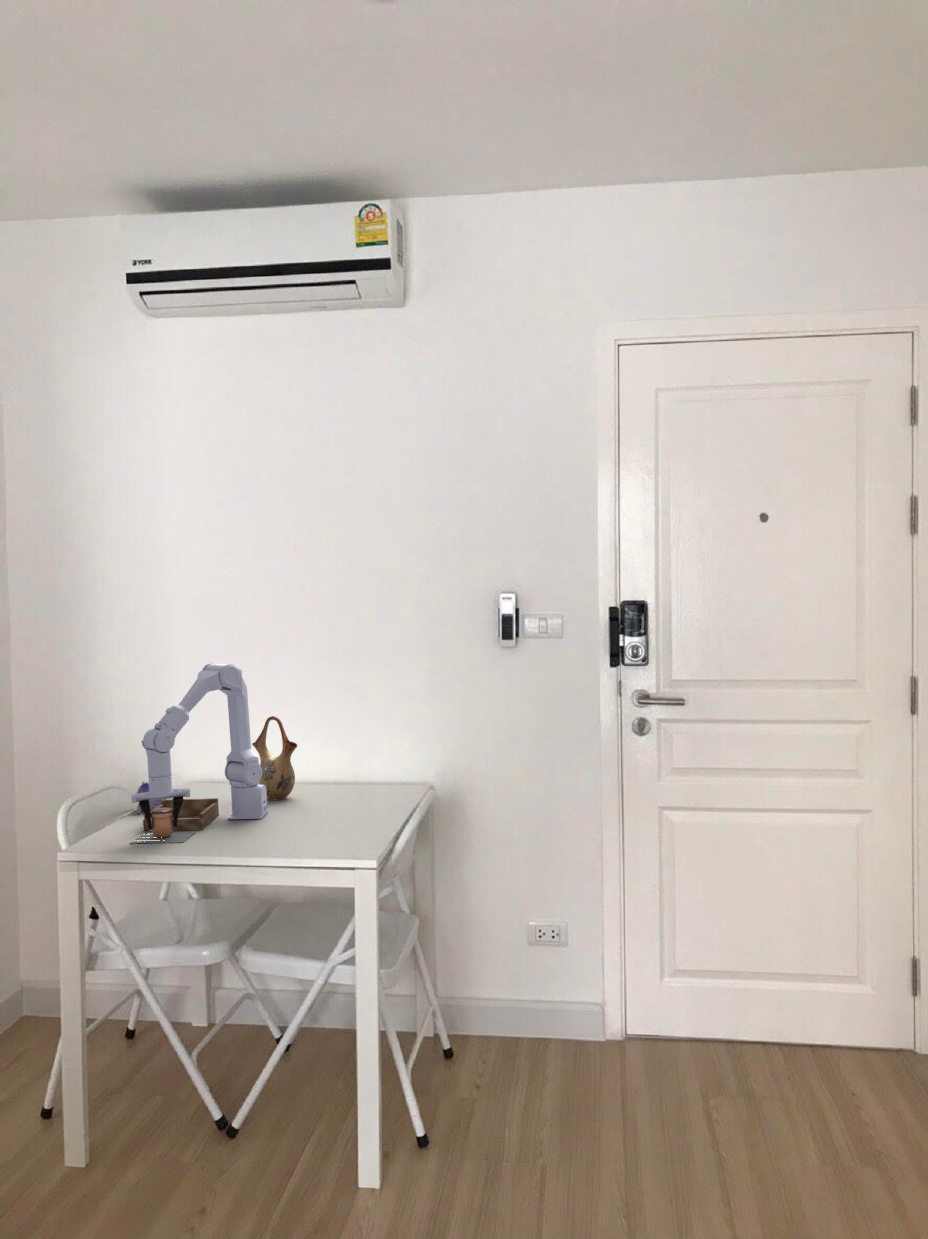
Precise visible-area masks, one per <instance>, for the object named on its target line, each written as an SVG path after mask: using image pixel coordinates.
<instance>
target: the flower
mask: <svg viewBox="0 0 928 1239" xmlns="http://www.w3.org/2000/svg"><path fill="white" fill-rule="evenodd" d="M144 792H149V781H146V782H145V781H142V783H141V785H140V786H139V788H138V789H137V792H136V794H138V793H144ZM161 800H167V799H161ZM161 800H152V801H149V804H150V811H152V810H153V809H154V808H156V807H157V806H159V805H160V804H161ZM136 810H137V813H138V816H140V815H139V814H141V815H142V809H141V807H140V805H139V803H138V804H137V807H136Z"/></svg>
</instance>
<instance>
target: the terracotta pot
mask: <svg viewBox="0 0 928 1239" xmlns="http://www.w3.org/2000/svg"><path fill="white" fill-rule="evenodd" d="M150 811H151V812H150V817H151V818H152V831H151V832H152V833H153V836H156V837H165V836H169V835H171V834H172V833H173V832H174V830H173V828H172V816H173V815H174V811H173V809H171V808H158V809H154V810H150Z"/></svg>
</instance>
